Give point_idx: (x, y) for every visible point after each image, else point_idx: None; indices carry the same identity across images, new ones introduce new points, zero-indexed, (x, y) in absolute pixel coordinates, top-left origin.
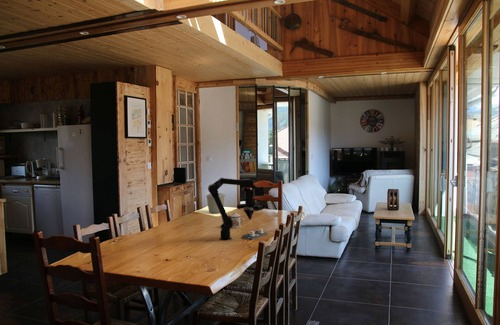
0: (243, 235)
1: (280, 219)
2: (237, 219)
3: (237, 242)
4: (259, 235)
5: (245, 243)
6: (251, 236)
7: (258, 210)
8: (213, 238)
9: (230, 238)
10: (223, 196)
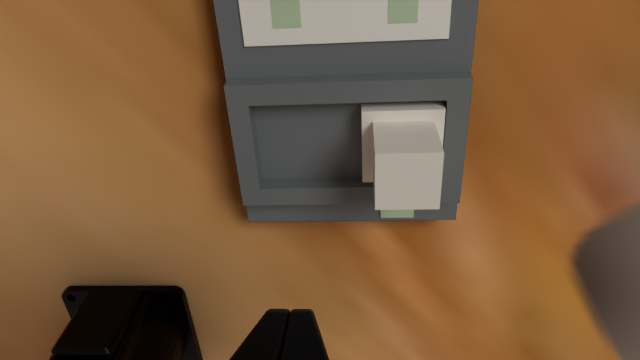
0: (261, 202)
1: None
2: None
3: (362, 353)
4: (475, 2)
5: (475, 344)
6: None
7: None
8: (10, 356)
9: (184, 313)
10: None
